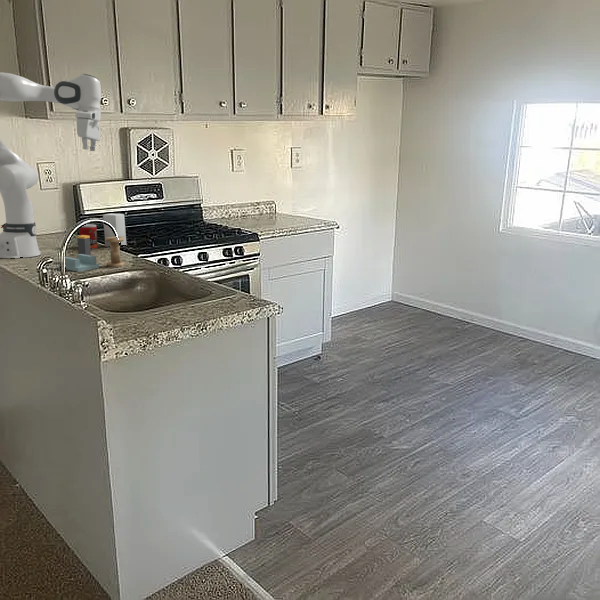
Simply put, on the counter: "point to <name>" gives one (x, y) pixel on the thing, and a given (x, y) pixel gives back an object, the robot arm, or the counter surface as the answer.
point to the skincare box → (115, 226)
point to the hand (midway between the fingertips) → (89, 150)
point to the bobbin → (115, 251)
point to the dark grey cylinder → (84, 245)
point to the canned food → (90, 234)
